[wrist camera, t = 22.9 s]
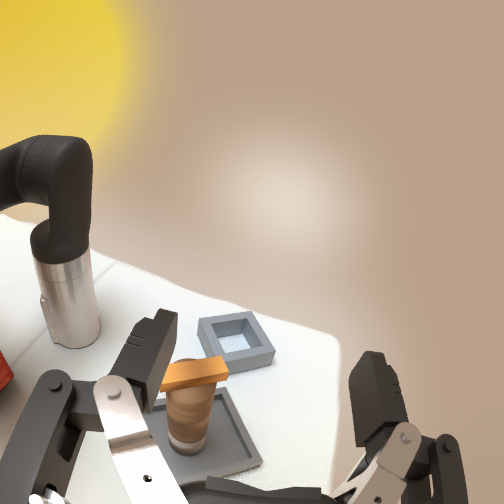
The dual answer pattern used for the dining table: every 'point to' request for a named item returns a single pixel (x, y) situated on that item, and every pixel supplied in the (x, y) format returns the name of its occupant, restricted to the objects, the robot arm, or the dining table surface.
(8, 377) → the cereal box
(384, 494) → the robot arm
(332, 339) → the dining table surface
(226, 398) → the tool tray
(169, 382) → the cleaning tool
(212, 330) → the tool holder
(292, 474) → the dining table surface
